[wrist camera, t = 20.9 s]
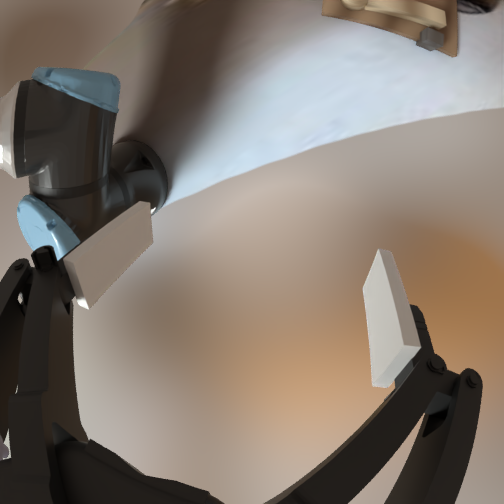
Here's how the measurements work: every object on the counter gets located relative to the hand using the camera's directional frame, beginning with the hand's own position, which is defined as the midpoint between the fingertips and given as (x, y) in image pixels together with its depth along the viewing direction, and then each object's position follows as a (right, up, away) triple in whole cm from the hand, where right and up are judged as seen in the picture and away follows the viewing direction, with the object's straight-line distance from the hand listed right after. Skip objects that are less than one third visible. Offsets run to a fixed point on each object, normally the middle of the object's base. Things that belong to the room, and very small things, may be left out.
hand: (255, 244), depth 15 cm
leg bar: (+18, +32, +5) cm, 37 cm away
